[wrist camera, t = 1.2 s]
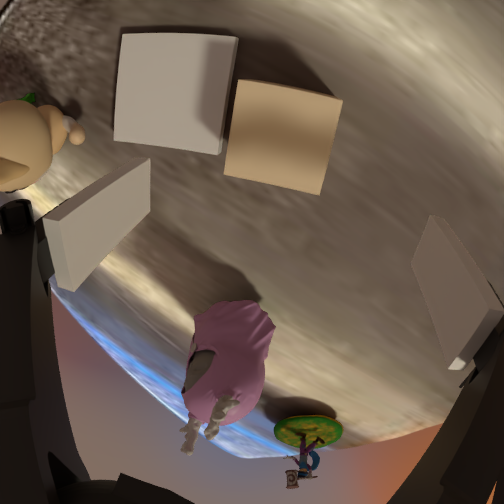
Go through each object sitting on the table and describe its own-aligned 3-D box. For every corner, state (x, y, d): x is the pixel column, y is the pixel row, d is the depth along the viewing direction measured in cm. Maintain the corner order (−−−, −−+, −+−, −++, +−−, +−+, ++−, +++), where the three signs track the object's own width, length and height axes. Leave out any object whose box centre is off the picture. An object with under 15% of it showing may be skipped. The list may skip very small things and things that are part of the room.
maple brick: (253, 79, 28) (238, 79, 22) (334, 96, 27) (342, 100, 21) (240, 154, 32) (223, 174, 26) (317, 171, 32) (319, 195, 26)
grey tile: (129, 35, 26) (122, 34, 25) (238, 38, 26) (235, 36, 24) (120, 137, 33) (113, 140, 31) (221, 151, 32) (217, 155, 31)
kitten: (12, 127, 34) (-68, 163, 21) (35, 67, 29) (-56, 87, 16) (75, 187, 37) (-5, 243, 24) (106, 125, 32) (12, 165, 19)
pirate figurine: (357, 418, 53) (358, 488, 40) (314, 440, 59) (308, 502, 46) (301, 394, 50) (294, 473, 38) (260, 419, 57) (247, 486, 44)
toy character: (230, 266, 39) (175, 406, 22) (294, 312, 41) (277, 454, 24) (183, 317, 45) (128, 436, 28) (240, 354, 47) (209, 474, 30)
